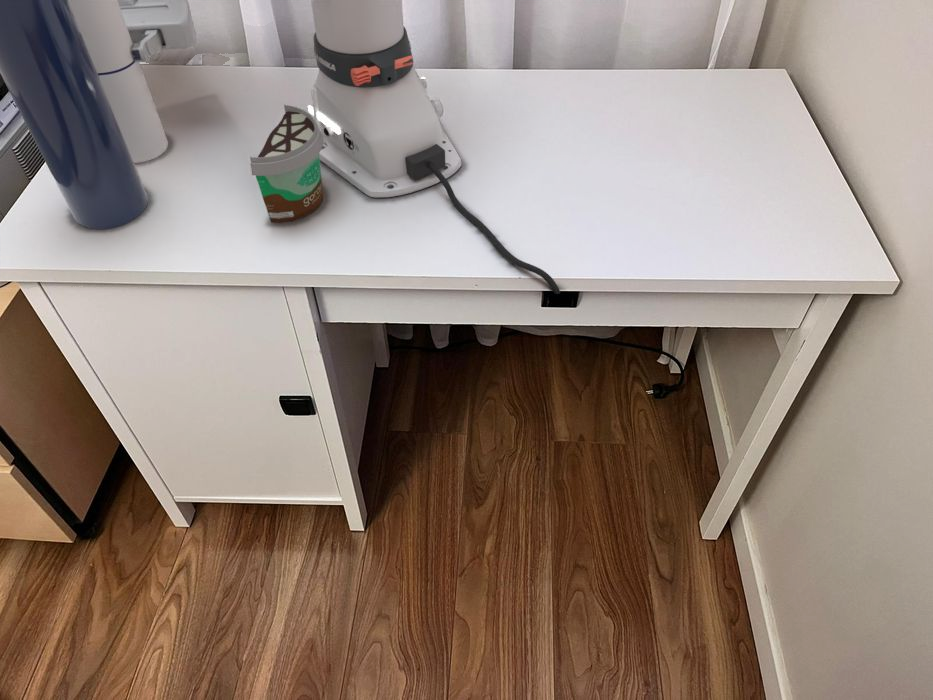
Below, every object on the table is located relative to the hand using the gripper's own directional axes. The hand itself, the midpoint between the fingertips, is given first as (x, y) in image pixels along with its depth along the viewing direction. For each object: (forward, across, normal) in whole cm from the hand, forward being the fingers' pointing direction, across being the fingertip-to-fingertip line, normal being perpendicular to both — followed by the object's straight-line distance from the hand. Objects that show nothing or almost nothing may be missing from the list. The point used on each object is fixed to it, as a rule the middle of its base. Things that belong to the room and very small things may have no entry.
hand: (102, 58), depth 90 cm
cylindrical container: (-1, 0, +14) cm, 14 cm away
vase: (+12, -2, +14) cm, 18 cm away
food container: (+14, +23, +14) cm, 30 cm away
